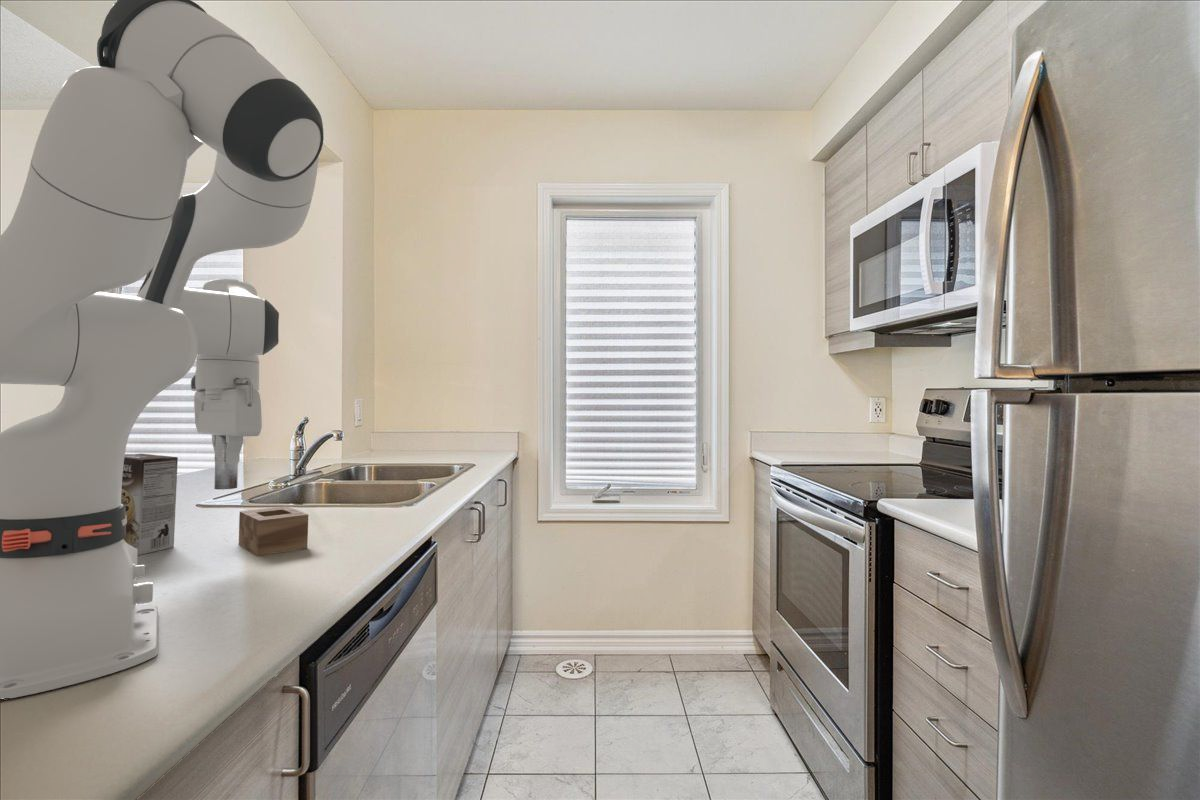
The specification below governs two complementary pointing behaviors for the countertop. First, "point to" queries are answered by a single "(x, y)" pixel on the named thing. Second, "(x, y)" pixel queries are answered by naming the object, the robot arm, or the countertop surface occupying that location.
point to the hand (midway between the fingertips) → (226, 463)
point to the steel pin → (224, 467)
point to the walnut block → (273, 530)
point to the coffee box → (149, 501)
